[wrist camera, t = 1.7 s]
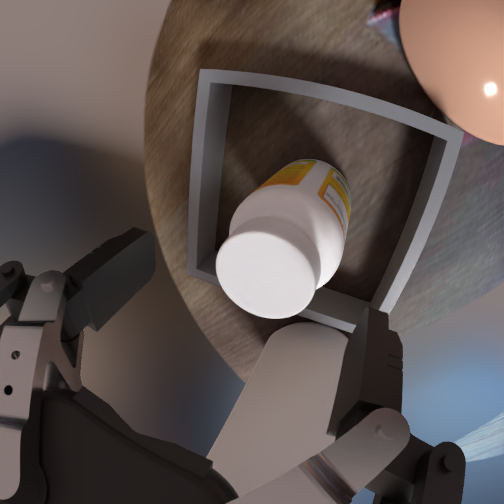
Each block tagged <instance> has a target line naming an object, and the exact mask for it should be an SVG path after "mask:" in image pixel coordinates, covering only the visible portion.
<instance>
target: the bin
mask: <svg viewBox="0 0 504 504" xmlns="http://www.w3.org/2000/svg"><path fill="white" fill-rule="evenodd" d="M233 84H234V85H243V86H251V87H258V88H265V89H271V90H278V91H283V92H289V93H294V94H299V95H304V96H309V97H314V98H318V99H323V100H327V101H331V102H335V103H339V104H343V105H347V106H350V107H354V108H358V109H361V110H364V111H368V112H371V113H374V114H378V115H381V116H384V117H387V118H390V119H393V120H396V121H398V122H401V123H404V124H407V125H410V126H412V127H415V128H417V129H420V130H423V131H425V132H428V133H430V134H433V135H434V139H433V142H432V146H431V149H430V153H429V156H428V160H427V163H426V166H425V170H424V173H423V176H422V179H421V182H420V185H419V188H418V191H417V194H416V197H415V200H414V202H413V205H412V208H411V211H410V213H409V216H408V219H407V221H406V224H405V226H404V229H403V231H402V234H401V236H400V239H399V241H398V244H397V246H396V248H395V251H394V253H393V255H392V258H391V260H390V262H389V264H388V267H387V269H386V271H385V273H384V275H383V278H382V280H381V282H380V284H379V286H378V288H377V290H376V292H375V294H374V296H373V298H372V300H371V302H367V301H364V300H361V299H358V298H355V297H352V296H349V295H346V294H343V293H340V292H337V291H334V290H331V289H328V288H325V287H320V288H318V289H317V290H315V293H314V295H313V298H312V300H311V301H310V303H309V304H308V305H307V306H306V307H305V308H304V309H303V310H302V311H301V312H299V313H298V314H296V315H299V316H302V317H305V318H308V319H311V320H314V321H317V322H320V323H323V324H326V325H329V326H332V327H335V328H338V329H341V330H344V331H347V332H350V333H352V332H353V331H354V329H355V327H356V325H357V323H358V321H359V319H360V318H361V316H362V314H363V312H364V310H365V308H366V307H370V308H374V309H377V310H380V311H383V312H386V313H388V315H389V314H390V312H391V310H392V308H393V307H394V305H395V303H396V301H397V299H398V298H399V296H400V294H401V292H402V290H403V288H404V286H405V284H406V282H407V280H408V278H409V277H410V275H411V272H412V270H413V268H414V266H415V264H416V262H417V260H418V258H419V256H420V254H421V252H422V249H423V247H424V245H425V243H426V240H427V238H428V236H429V234H430V231H431V229H432V226H433V224H434V222H435V219H436V217H437V214H438V212H439V209H440V206H441V204H442V201H443V198H444V196H445V193H446V190H447V187H448V185H449V182H450V179H451V176H452V173H453V170H454V166H455V163H456V160H457V157H458V153H459V150H460V146H461V143H462V139H463V135H464V132H462V131H460V130H458V129H455V128H453V127H451V126H449V125H447V124H444V123H442V122H440V121H437V120H435V119H433V118H430V117H428V116H425V115H423V114H420V113H417V112H415V111H412V110H409V109H407V108H404V107H401V106H398V105H395V104H392V103H389V102H386V101H383V100H380V99H377V98H373V97H370V96H367V95H363V94H360V93H356V92H352V91H349V90H345V89H341V88H337V87H332V86H328V85H324V84H319V83H314V82H309V81H304V80H299V79H293V78H287V77H281V76H274V75H267V74H259V73H251V72H241V71H230V70H215V69H200V73H199V81H198V90H197V99H196V108H195V119H194V130H193V142H192V155H191V170H190V187H189V209H188V240H187V274H189V275H191V276H194V277H196V278H199V279H201V280H204V281H206V282H209V283H212V284H214V285H217V286H219V287H222V286H221V284H220V282H219V280H218V277H217V273H216V258H217V254H218V251H216V250H215V242H216V230H217V219H218V208H219V198H220V188H221V178H222V169H223V159H224V150H225V142H226V133H227V125H228V117H229V109H230V101H231V94H232V87H233Z"/></svg>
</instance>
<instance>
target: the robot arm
mask: <svg viewBox="0 0 504 504" xmlns="http://www.w3.org/2000/svg"><path fill="white" fill-rule="evenodd" d="M155 268H156V261H155V244H154V235H153V233H152V232H149V231H146V230H144V229H141V228H138V227H133V228H131V229H130V230H128V231H127V232H125V233H124V234H122V235H120V236H117V237H114V238H111V239H109V240H107V241H106V242H104V243H103V244H102V245H100V246H99V248H96V249H94V250H93V251H92V253H89V254H88V255H86V256H85V257H84V258H82V259H81V260H79V261H78V262H77V263H75V264H74V265H73V266H71V267H70V268H69V269H67V270H66V271H65V272H63V273H62V272H60V271H58V270H48V271H45V272H43V273H41V274H39V275H38V276H36V277H35V276H31V275H27V274H25V271H24V268H23V265H22V263H20V262H18V261H10V262H7V263H5V264H3V265H1V266H0V307H1V306H2V305H4V304H6V306H7V308H8V310H9V312H10V314H11V316H10V317H8V318H7V319H6V321H4V322H3V323H2V325H0V504H350V503H351V501H352V498H353V496H354V495H356V494H357V493H358V492H359V491H360V490H361V489H363V488H364V487H365V488H367V489H368V490H370V491H372V492H374V493H375V496H374V500H373V503H372V504H461V501H462V494H463V486H464V477H465V466H466V461H465V456H464V453H463V451H462V450H461V448H460V447H459V446H458V445H456V444H455V443H452V442H442V443H440V444H439V445H437V446H435V447H433V446H431V445H429V444H427V443H425V442H424V441H422V440H420V439H418V438H416V437H415V436H413V435H412V434H411V433H410V428H409V425H408V422H407V420H406V419H405V418H404V416H403V415H402V414H401V408H402V384H403V383H402V382H403V372H402V369H403V361H402V359H403V346H402V343H401V341H400V338H399V336H398V334H397V332H395V331H391V330H389V319H388V313H386V312H383V311H380V310H377V309H374V308H370V307H366V308H365V310H364V312H363V314H362V316H361V318H360V319H359V321H358V323H357V325H356V327H355V329H354V331H353V332H352V334H351V336H350V338H349V340H348V342H347V345H346V348H345V352H344V356H343V362H342V367H341V372H340V377H339V382H338V386H337V391H336V396H335V400H334V404H333V409H332V413H331V417H330V421H329V425H328V429H327V432H326V435H330V436H334V437H335V441H334V442H333V443H332V444H331V445H329V446H328V447H327V448H325V449H324V450H322V451H321V452H319V453H318V454H316V455H315V456H312V457H310V458H309V459H307V460H305V461H304V462H302V463H301V464H299V465H297V466H296V467H294V468H292V469H291V470H289V471H288V472H286V473H284V474H282V475H281V476H279V477H277V478H275V479H274V480H272V481H270V482H268V483H266V484H265V485H263V486H261V487H259V488H257V489H255V490H253V491H251V492H249V493H247V494H245V495H243V496H241V497H239V496H238V494H237V492H236V491H235V489H234V488H233V487H232V485H231V484H230V483H229V482H228V481H227V480H226V479H225V478H224V477H223V476H222V475H221V474H220V473H218V472H217V471H216V470H214V469H213V468H212V467H213V461H212V460H209V459H207V458H205V457H203V456H200V455H198V454H196V453H194V452H192V451H190V450H187V449H185V448H183V447H181V446H179V445H177V444H175V443H171V442H167V441H163V440H159V439H156V438H152V437H149V436H146V435H142V434H139V433H137V432H135V431H134V430H132V429H131V428H130V427H129V425H128V424H126V422H125V421H124V420H123V419H122V418H121V417H120V416H119V415H118V414H117V413H116V412H115V410H114V409H113V408H112V407H111V406H110V405H109V404H108V403H106V402H105V401H103V400H102V399H100V398H99V397H98V396H96V395H95V394H93V393H92V392H91V391H89V390H88V389H86V388H85V387H84V386H83V385H82V381H81V361H82V351H83V342H84V331H83V329H84V328H85V327H86V326H89V327H91V328H92V329H93V330H95V331H98V330H99V329H100V328H101V327H102V326H103V325H104V324H105V323H106V322H107V321H108V320H109V319H110V318H111V317H112V316H113V315H114V314H115V313H116V312H117V311H119V309H121V308H122V307H123V306H124V305H125V304H126V303H127V302H128V301H129V300H130V299H131V298H132V297H133V296H134V295H135V294H136V293H137V292H138V291H139V290H140V289H141V288H142V287H143V286H144V285H145V284H147V283H148V282H149V281H150V280H151V278H152V277H153V275H154V272H155Z"/></svg>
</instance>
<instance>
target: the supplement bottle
mask: <svg viewBox="0 0 504 504" xmlns="http://www.w3.org/2000/svg"><path fill="white" fill-rule="evenodd" d="M350 212H351V193H350V189H349V186H348V184H347V182H346V180H345V178H344V177H343V176H342V174H341V173H340V172H339V171H338V170H337V169H335V168H334V167H333V166H331V165H330V164H328V163H326V162H323V161H320V160H316V159H301V160H297V161H294V162H291V163H289V164H288V165H286V166H284V167H283V168H282V169H280V170H279V171H278V172H277V173H276V174H274V175H273V176H272V177H271V178H270V179H268V180H267V181H266V182H265V183H263V184H262V185H261V186H260V187H259V188H257V189H256V190H255V191H254V192H252V193H251V194H250V195H249V196H248V197H247V198H246V199H245V200H244V201H243V202H242V203H241V204H240V205H239V206H238V208H237V210H236V211H235V213H234V215H233V217H232V220H231V223H230V228H229V237H228V238H227V239H226V241H225V242H224V243H223V244H222V246H221V247H220V249H219V251H218V254H217V258H216V273H217V277H218V280H219V282H220V284H221V286H222V288H223V290H224V291H225V293H226V294H227V295H228V296H229V298H230V299H231V300H232V301H234V302H235V303H236V304H237V305H238V306H239V307H241V308H242V309H244V310H246V311H247V312H249V313H252V314H254V315H257V316H260V317H264V318H271V319H281V318H287V317H290V316H293V315H295V314H298V313H299V312H301V311H302V310H303V309H304V308H305V307H306V306H307V305H308V304H309V303H310V301H311V300H312V298H313V295H314V293H315V290H317V289H318V288H320V287H322V286H323V285H324V284H325V283H327V282H328V281H329V280H330V279H331V277H332V276H333V275H334V273H335V272H336V270H337V268H338V266H339V264H340V261H341V258H342V254H343V249H344V244H345V239H346V234H347V228H348V223H349V217H350Z"/></svg>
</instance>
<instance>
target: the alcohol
mask: <svg viewBox="0 0 504 504" xmlns="http://www.w3.org/2000/svg"><path fill="white" fill-rule="evenodd" d="M348 340H349V339H348V338H347V337H346V336H345V335H344V334H343V333H341V332H340V331H338V330H337V329H335V328H333V327H330V326H328V325H325V324H321V323H315V322H299V323H294V324H291V325H288V326H285V327H283V328H281V329H279V330H277V331H275V332H274V333H273V334H272V335H271V336H270V337H269V339H268V340H267V342H266V344H265V346H264V348H263V351H262V353H261V355H260V357H259V359H258V361H257V363H256V365H255V367H254V369H253V371H252V373H251V375H250V377H249V379H248V381H247V383H246V385H245V387H244V389H243V391H242V393H241V395H240V396H239V398H238V400H237V402H236V404H235V406H234V408H233V410H232V412H231V414H230V416H229V417H228V419H227V421H226V423H225V425H224V427H223V429H222V430H221V432H220V434H219V436H218V438H217V439H216V441H215V443H214V445H213V447H212V449H211V451H210V452H209V454H208V456H207V457H206V458H207V459H209V460H212V461H213V467H212V468H213V469H214V470H216V471H217V472H218V473H220V474H221V475H222V476H223V477H224V478H225V479H226V480H227V481H228V482H229V483H230V484H231V485H232V487H233V488H234V489H235V491H236V492H237V494H238V496H239V497H241V496H243V495H245V494H247V493H249V492H251V491H253V490H255V489H257V488H259V487H261V486H263V485H265V484H266V483H268V482H270V481H272V480H274V479H275V478H277V477H279V476H281V475H282V474H284V473H286V472H288V471H289V470H291V469H292V468H294V467H296V466H297V465H299V464H301V463H302V462H304V461H305V460H307V459H309V458H310V457H312V456H315V455H316V454H318V453H319V452H321V451H322V450H324V449H325V448H327V447H328V446H329V445H331V444H332V443H333V442H334V441H335V437H334V436H330V435H326V432H327V429H328V425H329V421H330V417H331V413H332V409H333V404H334V400H335V396H336V391H337V386H338V382H339V377H340V372H341V367H342V362H343V356H344V352H345V348H346V345H347V342H348Z"/></svg>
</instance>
